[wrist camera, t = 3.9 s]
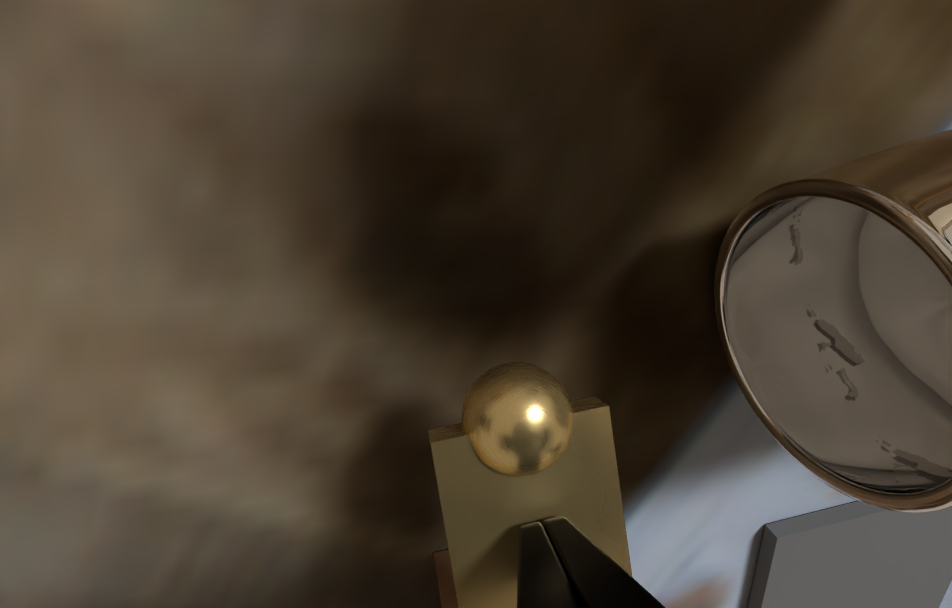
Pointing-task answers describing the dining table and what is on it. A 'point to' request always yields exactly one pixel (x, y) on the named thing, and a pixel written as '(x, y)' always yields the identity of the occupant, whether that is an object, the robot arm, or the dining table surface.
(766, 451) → the dining table surface
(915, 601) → the mat
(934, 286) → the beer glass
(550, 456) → the lever
